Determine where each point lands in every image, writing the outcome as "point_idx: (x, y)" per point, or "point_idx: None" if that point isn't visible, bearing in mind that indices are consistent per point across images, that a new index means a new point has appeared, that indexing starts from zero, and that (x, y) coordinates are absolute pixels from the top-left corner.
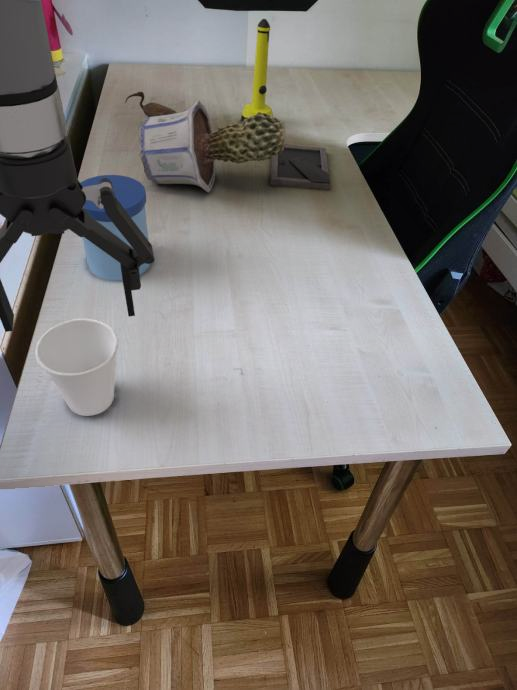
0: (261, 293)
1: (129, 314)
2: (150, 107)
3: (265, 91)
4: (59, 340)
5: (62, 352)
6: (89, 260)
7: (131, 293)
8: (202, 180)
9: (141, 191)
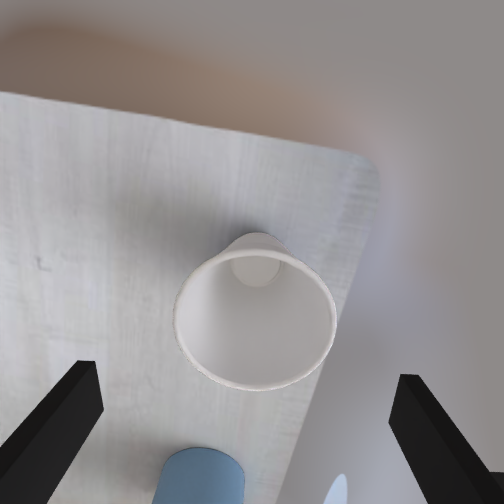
0: (7, 392)
1: (87, 366)
2: None
3: None
4: (289, 353)
5: (286, 332)
6: (239, 490)
7: (9, 438)
8: None
9: None
